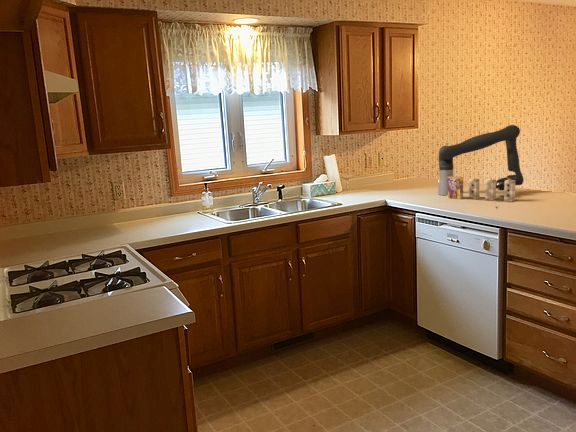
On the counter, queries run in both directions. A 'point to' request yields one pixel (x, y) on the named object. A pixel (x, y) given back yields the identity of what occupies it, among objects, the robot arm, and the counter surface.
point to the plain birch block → (490, 189)
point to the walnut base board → (492, 200)
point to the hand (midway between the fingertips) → (492, 187)
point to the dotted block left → (474, 188)
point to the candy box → (455, 187)
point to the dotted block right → (509, 190)
